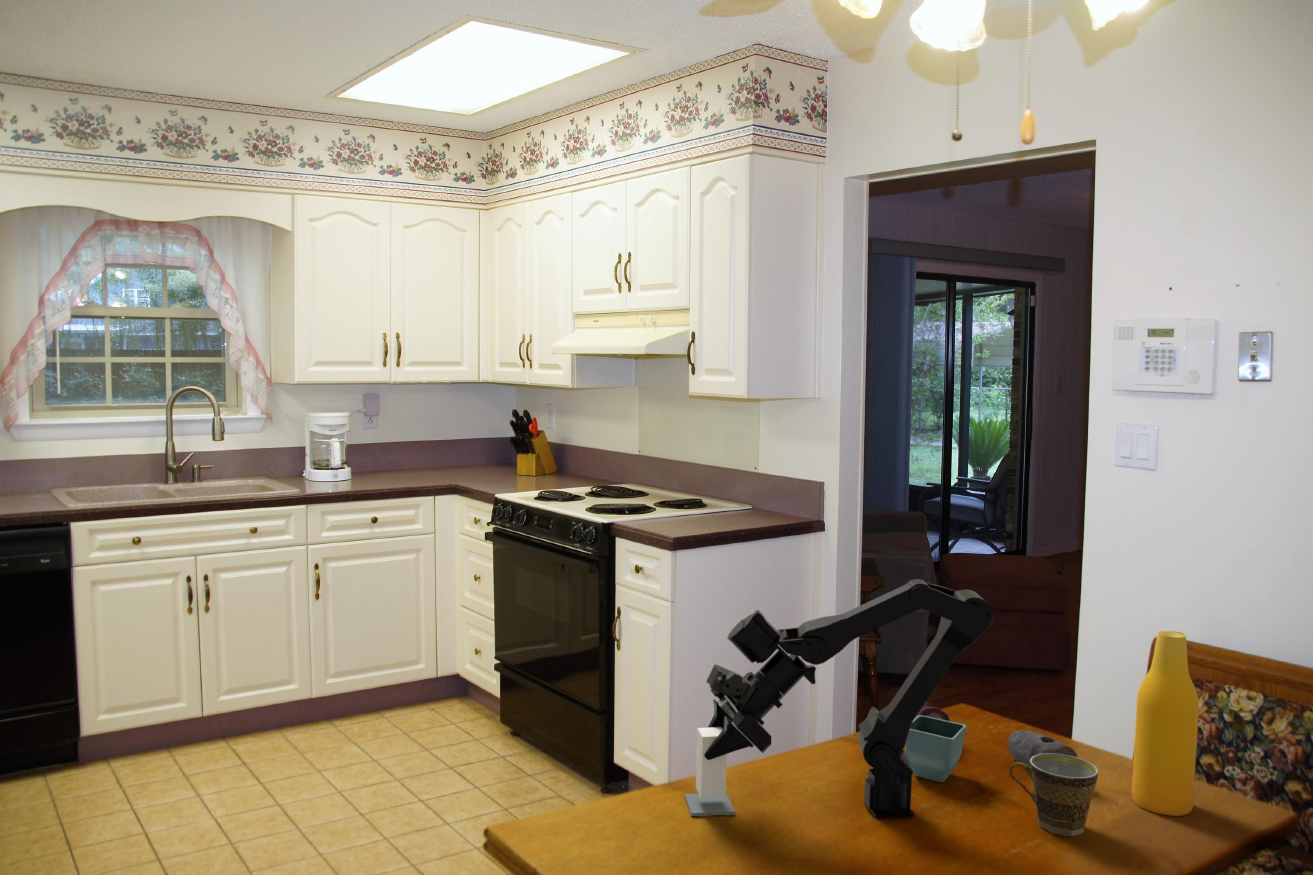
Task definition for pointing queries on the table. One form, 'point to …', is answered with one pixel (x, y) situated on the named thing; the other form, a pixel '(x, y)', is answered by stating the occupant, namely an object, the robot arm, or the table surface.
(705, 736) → the tall block
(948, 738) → the flower pot
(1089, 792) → the ceramic cup
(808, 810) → the table surface
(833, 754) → the table surface
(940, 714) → the icecream
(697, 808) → the slate mat
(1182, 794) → the beer bottle
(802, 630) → the robot arm
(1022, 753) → the perforated stone tool
